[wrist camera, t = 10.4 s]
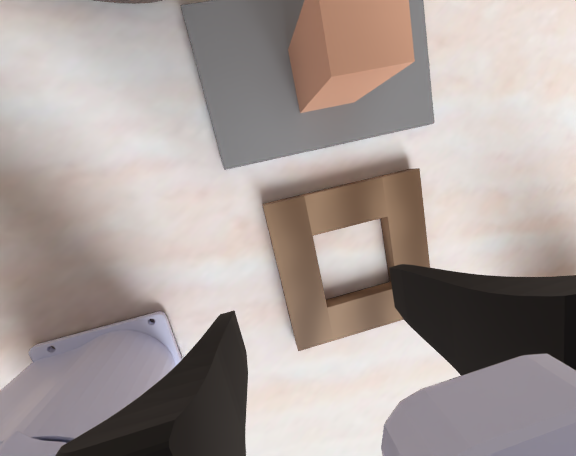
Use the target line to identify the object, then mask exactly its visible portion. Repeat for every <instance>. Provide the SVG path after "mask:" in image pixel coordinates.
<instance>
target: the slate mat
mask: <svg viewBox="0 0 576 456" xmlns="http://www.w3.org/2000/svg"><path fill="white" fill-rule="evenodd" d="M303 3H304V0H212V1H206V2H199V3H193V4H186V5H181V9H182V12H183V16H184V20H185V24H186V27H187V31H188V35H189V39H190V42H191V46H192V50H193V54H194V57H195V61H196V65H197V69H198V72H199V76H200V80H201V84H202V87H203V91H204V95H205V99H206V102H207V106H208V110H209V114H210V117H211V121H212V125H213V129H214V132H215V136H216V140H217V144H218V147H219V151H220V155H221V159H222V162H223V166H224V170H226V169H230V168H235V167H239V166H244V165H248V164H253V163H257V162H262V161H267V160H271V159H276V158H280V157H285V156H289V155H294V154H298V153H303V152H307V151H312V150H316V149H321V148H325V147H330V146H334V145H339V144H344V143H348V142H353V141H357V140H362V139H366V138H371V137H375V136H380V135H384V134H389V133H393V132H398V131H402V130H407V129H411V128H416V127H421V126H425V125H429V124H433V123H434V114H433V103H432V92H431V81H430V70H429V58H428V47H427V36H426V25H425V14H424V3H423V0H409V8H410V18H411V28H412V38H413V49H414V59H415V62H413V63H412V64H410V65H409V66H407V67H406V68H404V69H403V70H401V71H400V72H398V73H397V74H395V75H394V76H393V77H391V78H390V79H388V80H387V81H385V82H384V83H382V84H381V85H379V86H378V87H376V88H375V89H373V90H372V91H370V92H369V93H367V94H366V95H364V96H363V97H362V98H360V99H359V100H357V101H356V102H354V103H349V104H344V105H339V106H334V107H329V108H324V109H319V110H314V111H309V112H304V113H300V110H299V105H298V100H297V94H296V89H295V84H294V79H293V74H292V68H291V63H290V58H289V53H288V48H289V45H290V42H291V39H292V36H293V33H294V30H295V27H296V24H297V21H298V18H299V15H300V12H301V9H302V6H303Z"/></svg>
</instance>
